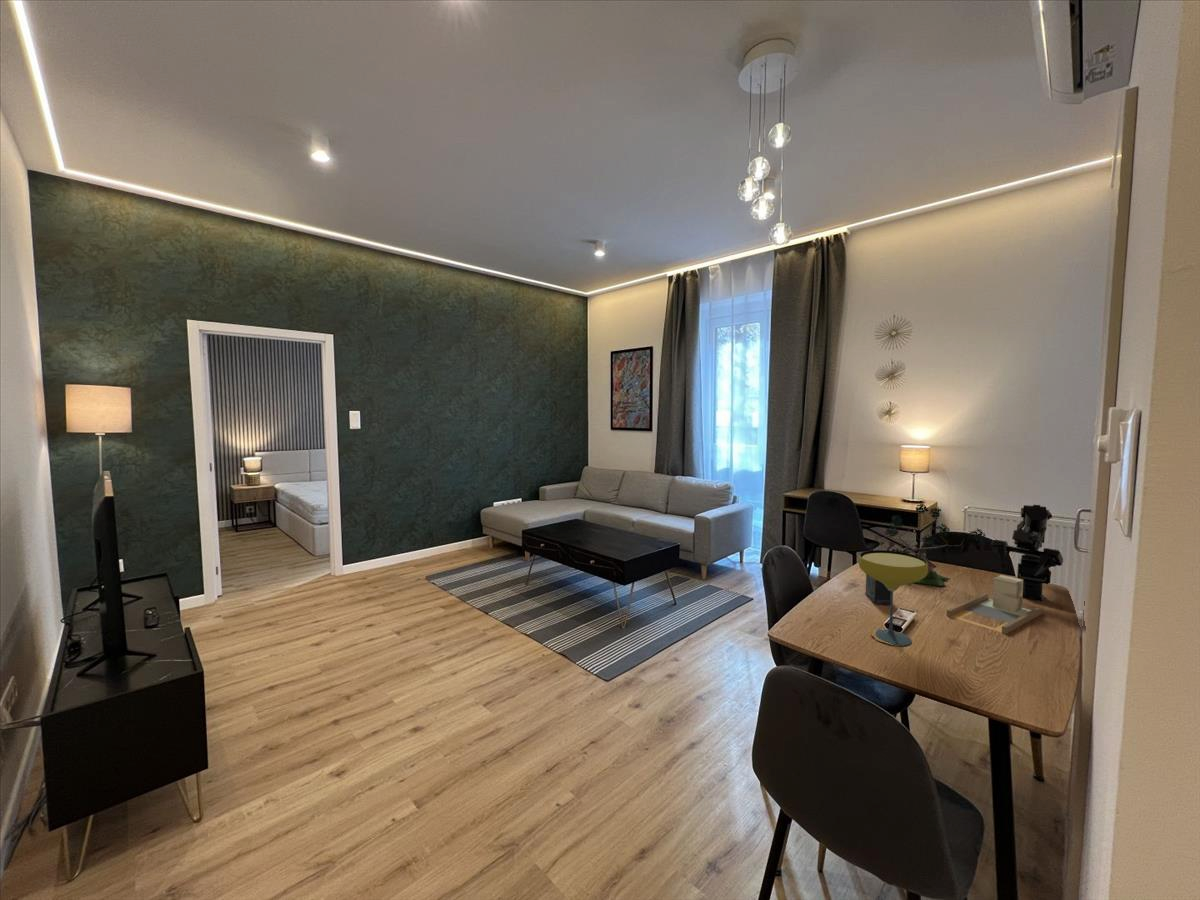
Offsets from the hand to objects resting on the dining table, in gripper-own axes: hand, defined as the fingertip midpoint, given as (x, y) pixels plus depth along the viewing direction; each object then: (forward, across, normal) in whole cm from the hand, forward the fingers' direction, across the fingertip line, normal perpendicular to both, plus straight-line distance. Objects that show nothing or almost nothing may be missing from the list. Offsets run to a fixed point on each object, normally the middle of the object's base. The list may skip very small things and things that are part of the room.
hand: (1017, 571), depth 169 cm
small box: (+31, -30, -12) cm, 45 cm away
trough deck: (+21, 0, -3) cm, 21 cm away
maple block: (+13, 0, +3) cm, 13 cm away
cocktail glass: (+51, -11, -31) cm, 60 cm away
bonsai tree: (+8, -29, +10) cm, 32 cm away
